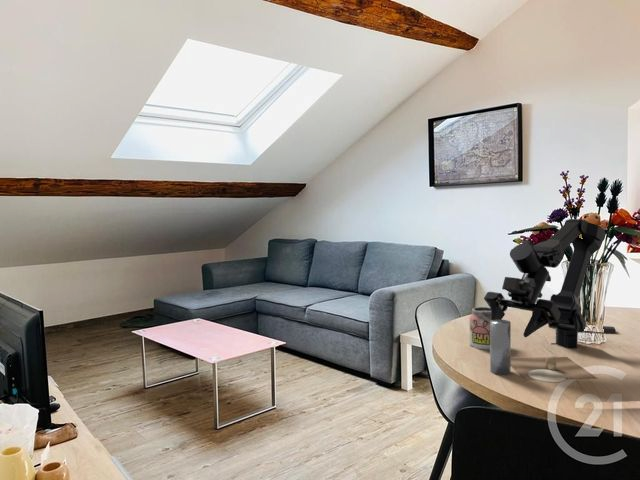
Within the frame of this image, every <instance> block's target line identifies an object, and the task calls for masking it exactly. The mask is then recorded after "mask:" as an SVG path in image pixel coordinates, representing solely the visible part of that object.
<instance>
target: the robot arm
mask: <svg viewBox="0 0 640 480" xmlns="http://www.w3.org/2000/svg"><path fill="white" fill-rule="evenodd" d="M580 234H582V238H583V239H581V238H579V235H580ZM605 238H606V230H605V229H604V228H602V226H601V225H598V224H595V223H592V222H588V221H587V220H585V219H582V218H569V219H566V220H565V222H564V224H563V225H562V226H561V227H560V228H559V229H558V230H557V231H556V232H555V233H554V234H553V235H552V236H551V237H550V238H549V239H547V240H544V241H541V242H538V243H536V244H534V245H533V243H532V241H530V240H523V241H522V242H521V243H520V244H518V245H515V246H514V247H513V248H511V249H510V252H509V257H510V259H511V260H512V262H513V263H514V265H515V267H516V268H517V270H518V271H519V272H520V273H522V274H523V275H522V276H521V278H519V277H509V276H505V277H504V280H503V284H502V290H504V291H506V292H507V296H508V297H509V298H511V299H508V298H505V296H504V295H503V294H502V293H501V292H496V291H495V292H494V291H488V292H486V293H485V295H484V297H483V300H484V301H485V303H487V306H488V307H490V308H491V312H492V314H491V320H497V319H500V320H503V318H504V317H505V316H506V313H505V312H506V311H507V310H508V308H513V309H518V310H524V311H529V312H532V313H531V317H530V318H529V321H528V323H527V325H526V327H525V329H524V331H523V337H524V338H528V337H529V336H530V335H532V334H533V333H535V332H536V331H538V330H539V329H541V328H543V327H544V326H546V325H548V327H549V326H553V327H556V329H555V342H551V343H550V345H555V346H558V347H563V348H566V349H578V333H579V332H583V331H584V329H585V326H586V324H587V321H586V319H585V317H584V315H583V314H582V306H581V303H580V301H579V296H580V294H581V290H582V287H583V283H584V280H585V277H586V274H587V270H588V268H587V264H588V263H590V260H591V258H592V255H594V254H595V253H596V252H598V250H600V249H601V247H602V244H603V242H604V241H605ZM571 245H572V246H573V252H572V255H571V258H570V260H569V261H570V262H569V265H568V267H567V270H566V273H565V277H564V280H563V283H562V286H561V290H560V292H559V293H557V294H554V293H553V294H552V295H550V299H543V298H542V297H543V294H542V290H543V288H544V287H545V284H546V282H549V283H550V282H551V281H552V277H551V275H550V271H549V270H548V269H547V268H553V269H554V268H557V267H558V266H559V265H560V264H561V262H562V261H563V259H564V256H563V255H564V254H563V253H564V251H565V250H566V249H568V247H569V246H571ZM538 298H539V299H538Z"/></svg>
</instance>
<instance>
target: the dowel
mask: <svg viewBox="0 0 640 480" xmlns="http://www.w3.org/2000/svg"><path fill="white" fill-rule="evenodd" d="M545 357H546V369H547V370H556V357H557V356H554V355H545Z"/></svg>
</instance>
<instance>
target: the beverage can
mask: <svg viewBox="0 0 640 480" xmlns="http://www.w3.org/2000/svg"><path fill="white" fill-rule="evenodd" d="M491 314H492V312H491V308H490V307H489V306H479V307H478V306H476V307H473V308H472V309H471V314H470V315H469V321H468V322H469V326H468V327H469V347H470V348H474V349H478V350H490V321H491Z"/></svg>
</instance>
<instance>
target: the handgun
mask: <svg viewBox="0 0 640 480" xmlns="http://www.w3.org/2000/svg"><path fill="white" fill-rule="evenodd" d="M602 326H603V329H604V333H603V334H611V335H612V334H613V335H614V334H615V335H616V333H617V332H616V331H617V330H616V327H614V326H611V325H610V326H606V325H602ZM548 328H550V329H553V330H554V329H555V330H556V327H553V326H549V325H548Z"/></svg>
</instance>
